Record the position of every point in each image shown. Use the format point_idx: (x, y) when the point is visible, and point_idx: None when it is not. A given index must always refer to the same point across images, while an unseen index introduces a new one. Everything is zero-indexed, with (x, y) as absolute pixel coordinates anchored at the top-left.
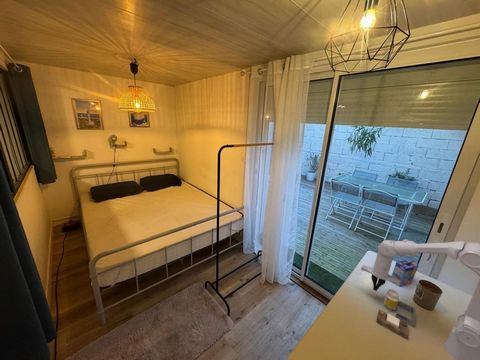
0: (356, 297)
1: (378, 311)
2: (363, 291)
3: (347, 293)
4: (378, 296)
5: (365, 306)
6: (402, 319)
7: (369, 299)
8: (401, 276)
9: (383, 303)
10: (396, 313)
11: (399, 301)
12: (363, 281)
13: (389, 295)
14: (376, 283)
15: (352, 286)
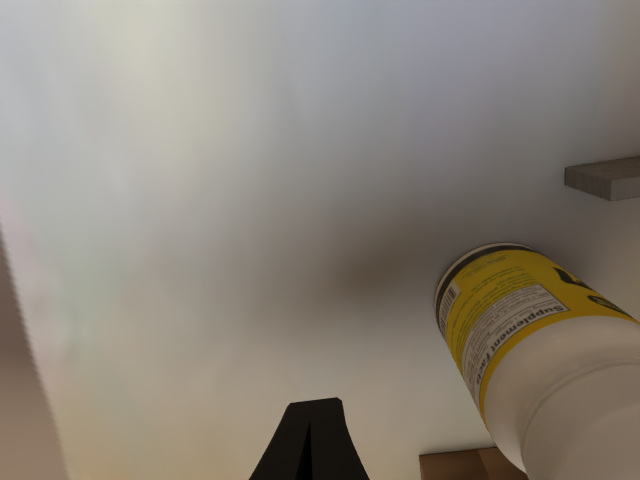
0: (201, 431)
1: (422, 471)
2: (206, 283)
3: (118, 449)
4: (362, 216)
5: None
6: None
7: (303, 353)
8: None
9: (442, 332)
10: None
11: (634, 197)
12: (111, 69)
13: None
14: (300, 464)
15: (85, 308)
